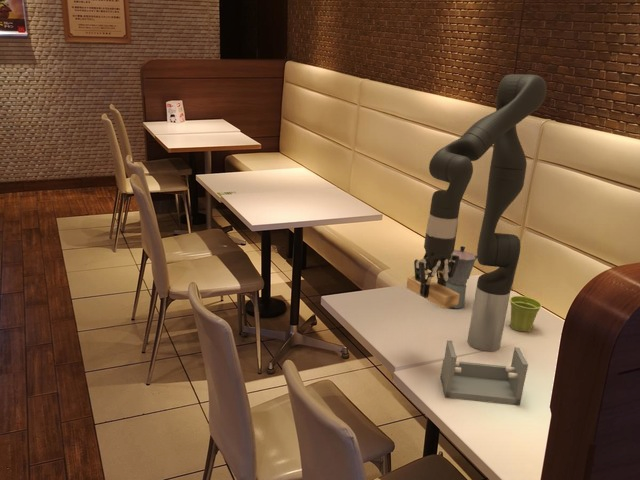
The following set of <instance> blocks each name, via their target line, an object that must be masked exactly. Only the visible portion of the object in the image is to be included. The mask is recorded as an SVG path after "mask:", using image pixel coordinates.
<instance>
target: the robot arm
mask: <svg viewBox="0 0 640 480" xmlns="http://www.w3.org/2000/svg"><path fill="white" fill-rule="evenodd" d="M547 90H548V89H547V84H546V81H545V79H544V78H543V77H541V76H539V75H537V74H522V73H521V74H518V73H517V74H516V73H515V74H507V75H505V76H504V77H502V79H501V80H500V82H499V85H498V87H497V92H496V93H497V94H496V103H495V104H496V105H495V106H496V107H495V111H494V112H491V113H490V114H487V115H485V116H483V117H482V118H480V119H478V120H477V121H476V122H474V123H473V124H471V126H470V127H469V128H468V129H467V130H466V131H465V132H464V133H463V134H462V135H461V136H460V137H459V138H458V139H456V140H454V141H452V142H450V143H449V144H447V145H445V146H444V147H442V148H440V149H439V150H438V151H436V152H435V154H433V155H432V157H431V159H430V161H429V166H428V170H429V174H430V175H431V176H432V178H434V179H436V180H439V181H442V182H445V183H449V185H448V188H447V189H440V190H436V191H434V192H433V194H432V197H431V203H430V207H429V209H430V210H429V213H428V214H429V215H428V219H427V223H426V230H425V236H424V237H425V238H424V244H423V248H424V251H425V254H424V255H423V258H422V259H415V260H414V262H413V266H414V267H413V268H414V276H415V280H416V281H418V282H420V283H421V287H420V295H421V296H420V295H419V296H420V297H422V298H424V299H425V298H427V297H428V294H429V288H430V281H431V280H433V278H434V277H435V275H436V274H437V271H438V277H439V279H437V281H436V282H437V283H439V284H441V285H442V286H445V287H446V281H447V280H448V278H450V277H451V278H452V277H453V276H454V273H455V270H456V267H457V264H458V261H459V256H457V255H455V254H453V252H454V250H455V247H456V240H457V233H458V226H459V214H460V208H461V202H462V200H463V197H464V195H465V192H466V190H467V187H468V185H469V184H470V181H471V179H472V177H473V173H474V166H473V162H475V161H478V160H479V159H480V158H482V157H483V156H484V155H485V154H486V153H487V151H488V150H489V149H490V148H491V147H492V154H491V155H492V156H491V160H490V165H489V174H488V181H487V192H486V200H485V205H484V206H485V208H484V212H483V217H482V222H481V228H480V231H479V235H478V236H479V237H478V242H477V249H476V255H477V259H476V260H477V262H478V264H479V265H481V266H485V267H495V268H497V269H495V270H492V271H490V272H486V273H483V274H481V275H479V276H478V278H477V283H476V287H475V288H476V289H475V294H474V299H473V307H472V311H471V318H470V324H469V329H468V333H467V334H468V335H467V340H466V341H467V343H468V344H469V346H470V347H472V348H474V349H477V350H480V351H484V352H494V351H498V350H499V349H500V348H501V342H502V338H503V333H504V328H505V322H506V317H507V312H508V307H509V302H510V298H511V296H510V295H511V291H512V286H513V285H514V281H515V280H514V279H515V275H516V271H517V267H518V263H519V259H520V254H521V247H522V246H521V240H520V238H519V236H517V235H515V234H511V233H510V234H509V233H503V232H502V233H500V232H499V233H498V232H496V228H497V225H498V223H499V221H500V219H501V217H502V216H503V214H504V213H505V211H506V210H507V209H508V208H509V206H510V205H511V204H512V203H513V202H514V200H515V199H516V198H517V197H518V196H519V194H520V193H521V192H522V190H523V188H524V184H525V179H526V171H527V166H528V165H527V158H526V154H525V151H524V148H523V146H522V144H521V141H520V139H519V136H518V132H517V124H519V123H521V122H522V121H523V120H525V119H526V118H527V117H529V116H530V115H531V114H533V113H534V112H535V111H536V110H538V109H539V108H540V107H541V106H542V105H543V103H544V102H545V100H546V98H547V97H546V96H547ZM450 267H451V271H450V272H449V269H450ZM426 277H427V279H425V278H426Z"/></svg>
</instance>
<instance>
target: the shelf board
mask: <svg viewBox="0 0 640 480" xmlns="http://www.w3.org/2000/svg"><path fill="white" fill-rule="evenodd" d="M427 277H428V276H426V278H425V279H427ZM406 279H407V281H406V287H405V288H406V289H407V290H409V291H411V292H413V293H414V294H416V295H419V296H420V297H422V296H421V295H420V287H421V283H420V282H418V281H416V280H415V275H414V276H409V277H407V278H406ZM459 296H460V294H458V293H456V292H455V291H453V290H451V289H449V288H447V287H445V286H442V285H441V284H439V283H437V281H435V280H433V279H431V281H430V288H429V294H428V297H427V298H424V299H425V300H427V301H429V302H431V303H433V304H435V305H436V306H438V307H440V308H442V309H449V307H452V306H457V305H458V302H459Z"/></svg>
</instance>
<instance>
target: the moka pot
mask: <svg viewBox="0 0 640 480" xmlns="http://www.w3.org/2000/svg"><path fill="white" fill-rule="evenodd" d="M465 249H466V247H465V246H460V248H459V249H454V252H453V254H455V255H457V256H459V261H458V264H457V267H456V270H455V273H454V276H453V277H452V278H451V277H450V278H448V280H447V281H446V287H447V288H449V289H451V290H453V291H455V292H456V293H458V294H460V296H459V302H458V305H457V306H452V307H448V309H449V308H451V309H462V308H464V306H465V304H466V303H465V302H466V293H467V291H466V290H467V283H468V280H469V278H470V277H471V276H470V275H471V274H472V270H473V268H474V265H475V262H476V260H478V259H477V254H475V253H472V252H469V251H466V250H465ZM450 271H451V267H450V269H449V272H450ZM436 278H437V280H438V279H439V277H438V271H437V272H436Z"/></svg>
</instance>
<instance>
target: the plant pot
mask: <svg viewBox="0 0 640 480" xmlns="http://www.w3.org/2000/svg"><path fill="white" fill-rule="evenodd" d="M509 302H510V327H511V328H512V329H514V330H516V331H518V332H530V331H531V330H532V327H533V325H534V322H535V320H536V316H537V315H538V312H539V311H540V309H542V307H543V305H542V303H541V302H540V301H539V300H537V299H535V298H532V297H529V296H525V295H513V296H510V297H509Z"/></svg>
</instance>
